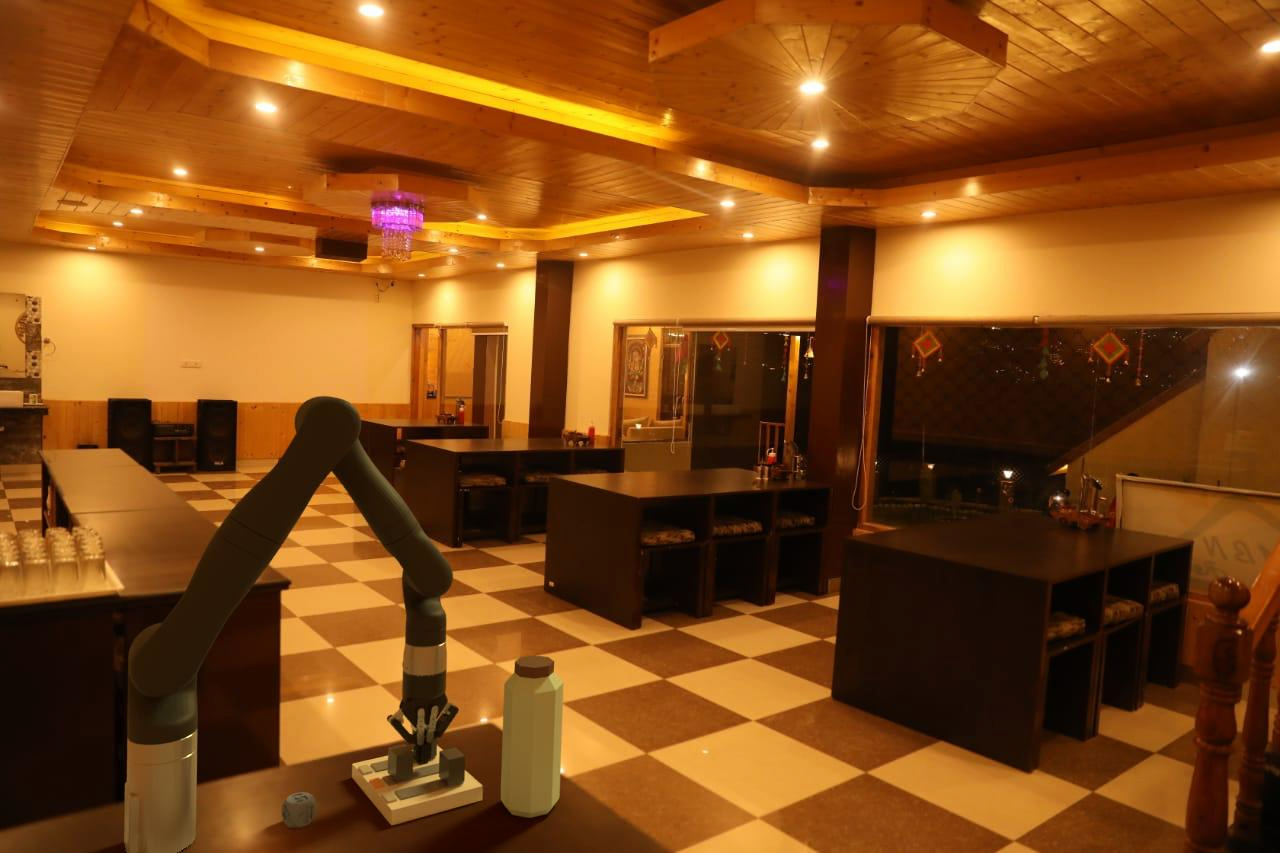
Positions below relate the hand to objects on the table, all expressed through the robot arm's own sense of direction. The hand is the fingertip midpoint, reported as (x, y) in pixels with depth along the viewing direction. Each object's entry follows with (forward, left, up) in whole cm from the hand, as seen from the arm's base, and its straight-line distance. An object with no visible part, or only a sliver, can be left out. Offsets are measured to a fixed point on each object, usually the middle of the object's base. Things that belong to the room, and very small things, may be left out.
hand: (422, 762), depth 150 cm
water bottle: (+13, -16, -4) cm, 21 cm away
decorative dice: (-21, -1, -5) cm, 22 cm away
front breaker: (+3, -6, -1) cm, 7 cm away
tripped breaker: (-4, 0, -1) cm, 4 cm away
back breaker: (+3, +6, -1) cm, 7 cm away
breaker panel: (-1, 0, -4) cm, 4 cm away
